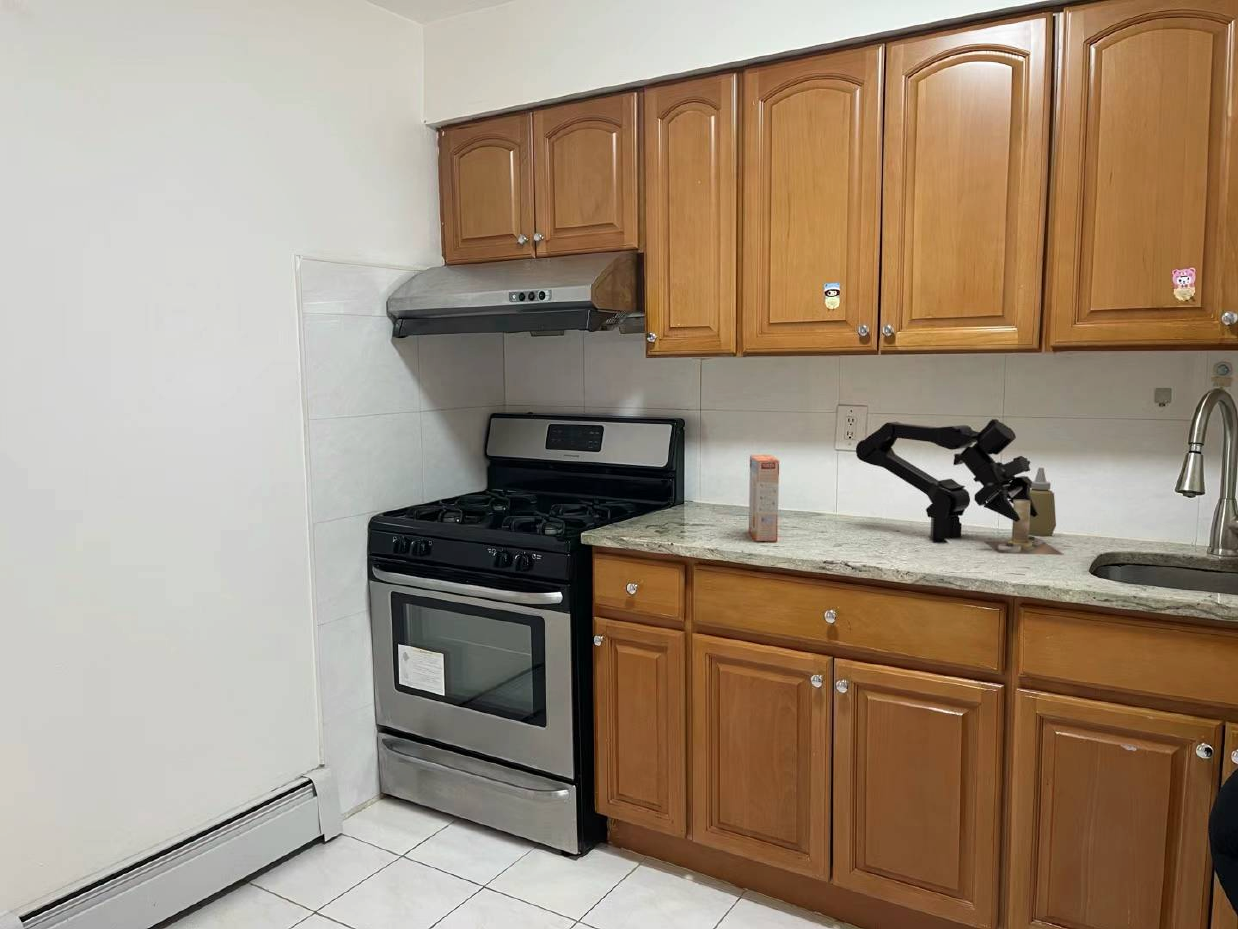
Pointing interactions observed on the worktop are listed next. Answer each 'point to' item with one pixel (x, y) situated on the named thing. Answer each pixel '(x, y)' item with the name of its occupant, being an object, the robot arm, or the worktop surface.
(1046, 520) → the squeeze bottle
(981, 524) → the worktop surface
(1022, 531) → the gear spindle
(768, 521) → the cracker box
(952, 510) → the robot arm
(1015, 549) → the gear board
